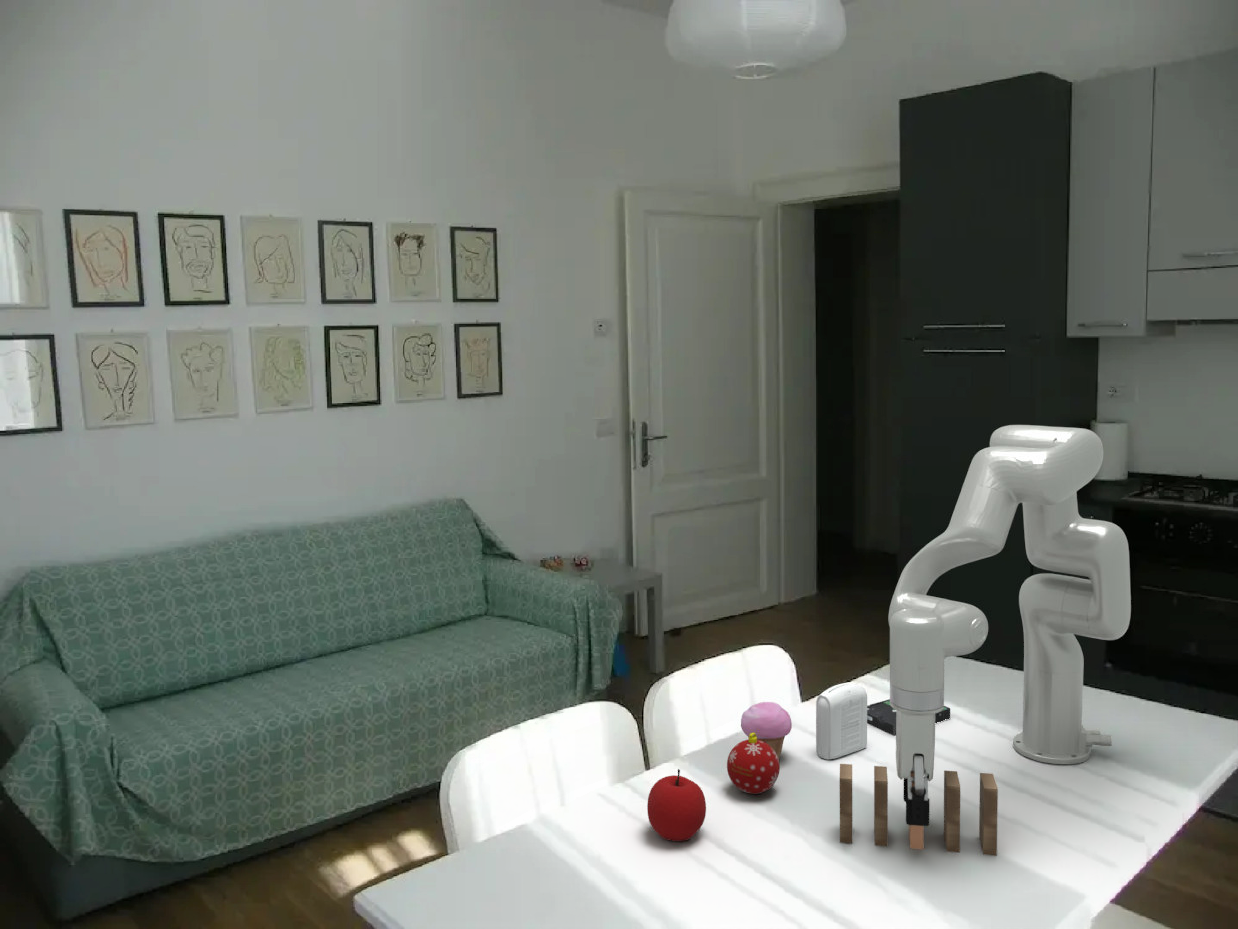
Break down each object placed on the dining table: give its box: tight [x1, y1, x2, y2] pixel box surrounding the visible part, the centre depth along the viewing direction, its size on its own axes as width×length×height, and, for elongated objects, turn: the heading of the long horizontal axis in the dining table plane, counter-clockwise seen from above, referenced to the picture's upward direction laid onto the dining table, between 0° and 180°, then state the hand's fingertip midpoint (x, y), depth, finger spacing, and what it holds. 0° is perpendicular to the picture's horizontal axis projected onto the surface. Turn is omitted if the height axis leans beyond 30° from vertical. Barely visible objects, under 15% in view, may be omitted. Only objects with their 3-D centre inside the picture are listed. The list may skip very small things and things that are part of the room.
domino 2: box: [873, 765, 889, 847], centre depth 146 cm, size 2×5×10 cm, turn 167°
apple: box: [646, 768, 707, 842], centre depth 150 cm, size 9×9×10 cm
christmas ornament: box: [726, 733, 780, 795], centre depth 163 cm, size 9×9×10 cm
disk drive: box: [867, 698, 951, 737], centre depth 191 cm, size 10×3×15 cm
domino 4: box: [943, 770, 961, 853], centre depth 144 cm, size 2×5×10 cm, turn 167°
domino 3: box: [908, 772, 924, 850], centre depth 145 cm, size 2×5×10 cm, turn 167°
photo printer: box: [815, 682, 868, 761], centre depth 177 cm, size 10×4×12 cm, turn 123°
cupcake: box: [740, 701, 793, 760], centre depth 175 cm, size 9×9×10 cm
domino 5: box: [978, 772, 999, 856], centre depth 143 cm, size 2×5×10 cm, turn 167°
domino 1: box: [839, 763, 853, 845], centre depth 148 cm, size 2×5×10 cm, turn 167°
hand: (916, 812), depth 145 cm, fingers open, 6 cm apart
